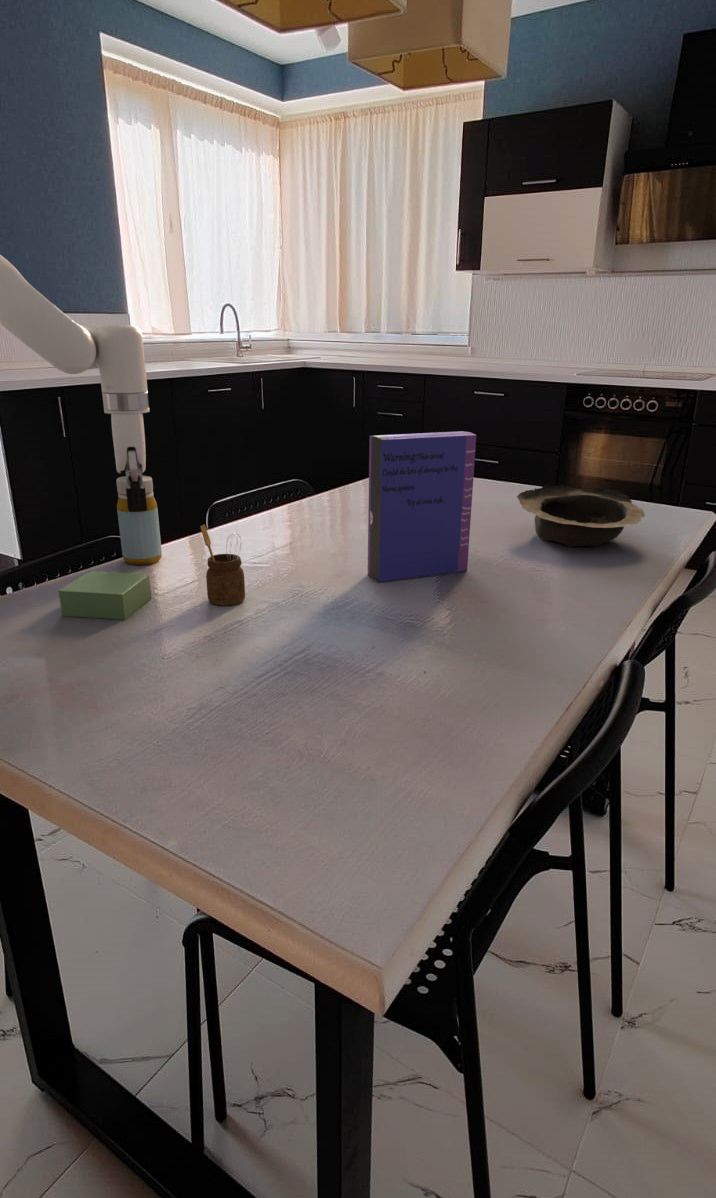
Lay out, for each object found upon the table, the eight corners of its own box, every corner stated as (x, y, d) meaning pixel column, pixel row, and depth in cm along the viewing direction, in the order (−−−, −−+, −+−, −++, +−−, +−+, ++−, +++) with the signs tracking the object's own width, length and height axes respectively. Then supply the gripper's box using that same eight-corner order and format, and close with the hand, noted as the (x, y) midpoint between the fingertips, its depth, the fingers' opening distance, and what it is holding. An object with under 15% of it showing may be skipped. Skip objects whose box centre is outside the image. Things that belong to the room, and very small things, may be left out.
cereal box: (453, 564, 142) (461, 430, 132) (467, 571, 138) (476, 433, 128) (367, 574, 136) (369, 434, 126) (378, 582, 131) (381, 438, 122)
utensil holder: (238, 608, 119) (234, 532, 114) (200, 605, 120) (194, 529, 116) (250, 596, 125) (247, 523, 120) (214, 593, 126) (209, 520, 121)
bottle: (157, 553, 147) (149, 474, 141) (166, 562, 141) (158, 480, 135) (120, 557, 144) (110, 476, 138) (127, 567, 138) (117, 483, 132)
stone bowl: (554, 517, 176) (561, 476, 172) (657, 546, 161) (668, 502, 157) (491, 534, 160) (498, 490, 156) (600, 568, 144) (611, 520, 140)
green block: (62, 616, 115) (58, 590, 114) (92, 594, 124) (89, 571, 123) (125, 620, 114) (122, 594, 112) (151, 598, 123) (149, 574, 122)
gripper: (103, 399, 138) (115, 497, 145) (102, 408, 123) (115, 518, 130) (146, 398, 140) (156, 495, 147) (151, 407, 125) (161, 516, 132)
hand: (137, 505), depth 139 cm, fingers closed on bottle, 7 cm apart
